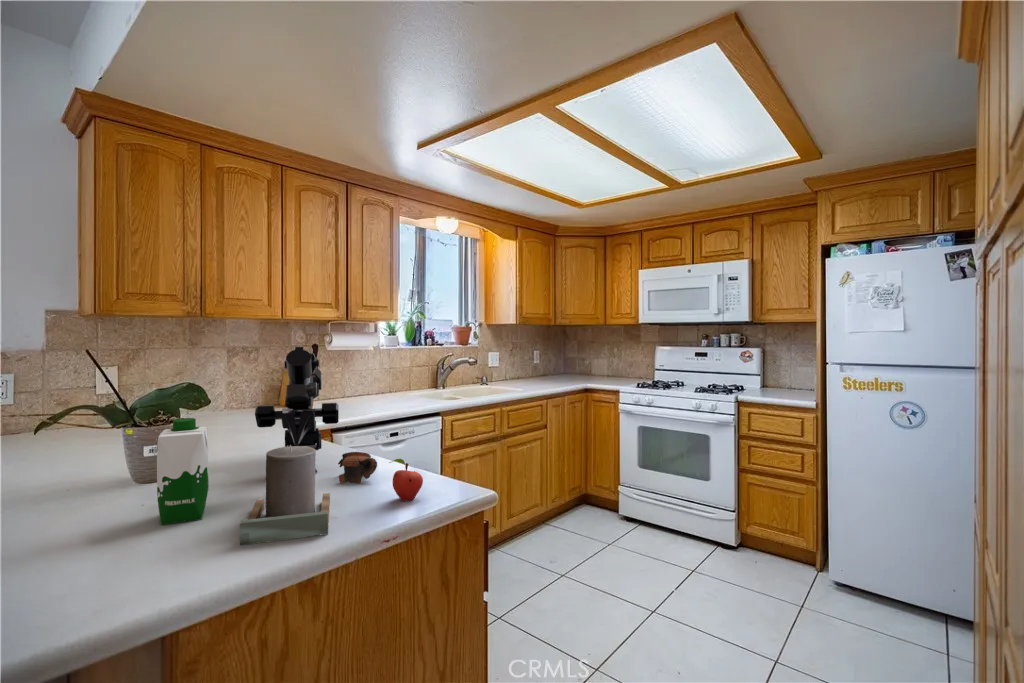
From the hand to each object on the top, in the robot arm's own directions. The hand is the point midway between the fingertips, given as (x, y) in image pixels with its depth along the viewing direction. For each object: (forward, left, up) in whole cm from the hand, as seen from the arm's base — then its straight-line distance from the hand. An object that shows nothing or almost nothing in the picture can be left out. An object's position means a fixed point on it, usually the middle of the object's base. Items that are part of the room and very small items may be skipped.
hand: (296, 443), depth 115 cm
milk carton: (+2, -22, -12) cm, 25 cm away
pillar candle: (+13, -3, -12) cm, 18 cm away
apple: (+17, +21, -12) cm, 29 cm away
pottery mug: (-5, +16, -13) cm, 21 cm away
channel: (+16, -4, -12) cm, 21 cm away
